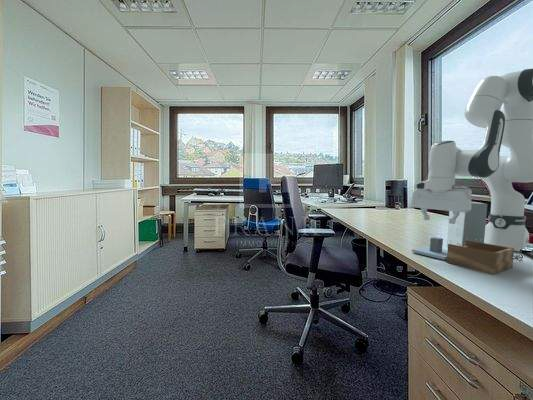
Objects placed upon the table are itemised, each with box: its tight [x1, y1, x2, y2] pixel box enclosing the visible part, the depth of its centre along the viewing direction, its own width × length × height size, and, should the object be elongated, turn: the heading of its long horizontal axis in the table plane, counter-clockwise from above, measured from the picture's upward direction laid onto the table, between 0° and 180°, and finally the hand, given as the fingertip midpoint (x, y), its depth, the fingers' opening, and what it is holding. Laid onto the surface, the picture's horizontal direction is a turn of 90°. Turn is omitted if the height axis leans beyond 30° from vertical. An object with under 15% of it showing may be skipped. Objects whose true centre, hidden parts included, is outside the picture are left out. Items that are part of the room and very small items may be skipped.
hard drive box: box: [446, 201, 488, 247], centre depth 121 cm, size 16×8×20 cm, turn 168°
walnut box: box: [446, 240, 515, 275], centre depth 101 cm, size 14×14×6 cm
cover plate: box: [411, 236, 448, 261], centre depth 113 cm, size 11×12×6 cm
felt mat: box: [416, 253, 444, 261], centre depth 114 cm, size 10×10×1 cm
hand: (438, 221), depth 113 cm, fingers open, 8 cm apart
